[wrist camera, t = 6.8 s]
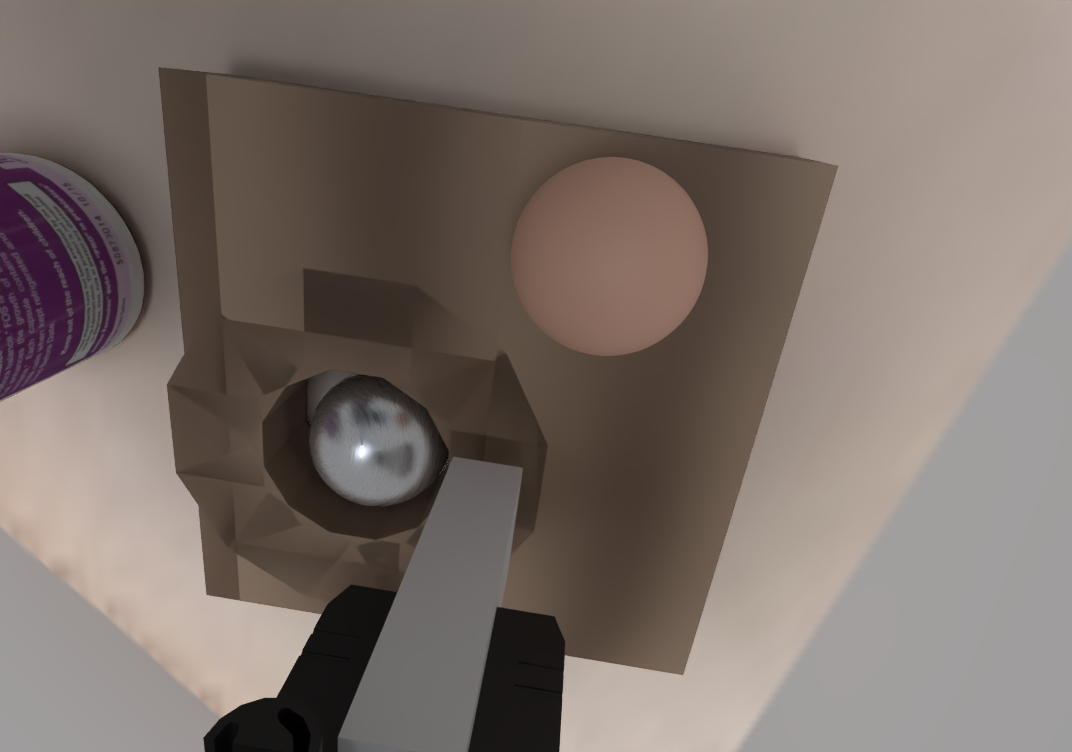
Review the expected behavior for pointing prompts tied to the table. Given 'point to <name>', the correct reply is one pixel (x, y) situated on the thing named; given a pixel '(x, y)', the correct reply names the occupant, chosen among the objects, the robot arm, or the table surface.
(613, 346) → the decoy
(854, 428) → the table surface
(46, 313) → the pill bottle
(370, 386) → the ball
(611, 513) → the brown flat square slab
